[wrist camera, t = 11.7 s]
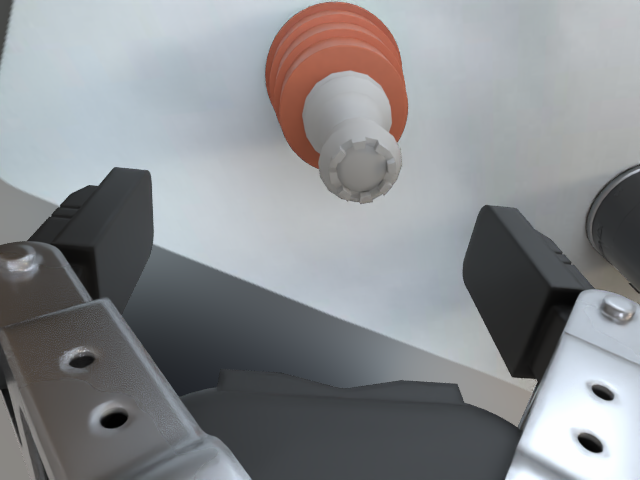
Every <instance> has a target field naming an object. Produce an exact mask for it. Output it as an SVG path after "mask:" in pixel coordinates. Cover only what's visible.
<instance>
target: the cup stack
mask: <svg viewBox="0 0 640 480" xmlns="http://www.w3.org/2000/svg"><path fill="white" fill-rule="evenodd" d="M343 71H354V72H358V73H362V74H366V75H368V76H369V77H371V78H372V79H373V80H374V81H376V82H377V83H378V84H380V85H381V87H382V88H383V90H384V92H385V94H386V96H387V98H388V100H389V104H390V106H391V118H392V124H391V127H390V131H389V133H390V134H391V135H393V136H394V138H395V140H396V142H398V141H399V139H400V137H401V135H402V133H403V131H404V128H405V125H406V120H407V115H408V99H407V94H406V88H405V81H404V76H403V71H402V62H401V57H400V52H399V49H398V46H397V43H396V41H395V39H394V37H393V35H392V34H391V33H390V31H389V30H388V28H387V27H386V26H385V25H384V24H383V23H382V21H381V20H379V19H378V18H377V17H376V16H375V15H373V14H372V13H370V12H369V11H367V10H365V9H364V8H361V7H359V6H357V5H353V4H349V3H344V2H325V3H319V4H316V5H313V6H310V7H308V8H306V9H304V10H302V11H300V12H299V13H297V14H296V15H294V16H293V17H292V18H291V19H289V20H288V21H287V22H286V23H285V24H284V26H283V27H282V28H281V29H280V30H279V32H278V34H277V35H276V37H275V38H274V41H273V43H272V45H271V47H270V50H269V53H268V57H267V62H266V71H265V78H266V87H267V92H268V96H269V98H270V101H271V104H272V106H273V108H274V110H275V112H276V116H277V118H278V121H279V124H280V126H281V128H282V131H283V134H284V136H285V138H286V140H287V142H288V144H289V145H290V147H291V148H292V150H293V151H294V152H295V153H296V154H297V155H298V156H299V157H300V158H301V159H302V160H303V161H305V162H306V163H308V164H309V165H311V166H313V167H315V168H317V169H319V165H318V161H319V157H320V153H318V152H317V151H315V149H314V148H313V146H312V145H311V143H310V141H309V140H308V138H307V137H306V133H305V129H304V123H303V117H302V113H303V109H304V104H305V100H306V97H307V96H308V94H309V93H310V91H311V90H312V89H313V87H314V86H315V84H316V83H317V82H319V81H321V80H322V79H324V78H325V77H327V76H329V75H330V74H332V73H337V72H343Z"/></svg>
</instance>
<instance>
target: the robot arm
mask: <svg viewBox="0 0 640 480" xmlns="http://www.w3.org/2000/svg"><path fill="white" fill-rule="evenodd" d="M587 234H588V238H589V241H590V243H591V245H592V246H593V247H594V248H595V250H596V251H597V252H598V253H599V254H600V255H602V256H603V257H604V258H605V259H606V260H607V261H608V262H609V263H611V264H612V265H613V266H614V267H615V268H616V269H617V270H618V271H619V272H620V273H621V274H622V275H623V276H624V277H625V278H626V279H627V280H628V281H629V282H630V283H629V284H630V285H631V286H632V287H633V288H634V289H635V290H636V291H637V292H638V293H640V165H639V166H637V167H634V168H632V169H630V170H628V171H626V172H624V173H623V174H621V175H620V176H618V177H617V178H615V179H614V180H613V181H612V182H611V183H609V184H608V185H607V186H606V187H605V188H604V189H603V191H602V192H601V193H600V194H599V196H598V197H597V198H596V200H595V202H594V203H593V205H592V207H591V210H590V212H589V216H588V220H587ZM153 236H154V228H153V204H152V181H151V175H150V172H149V171H148V170H139V169H129V168H119V167H114V168H113V169H112V170H111V172H110V173H109V174H108V175H107V176H106V178H105V179H104V180H103V181H102V182H101V183H100V185H99V186H92V185H89V186H86V187H84V188H82V189H80V190H78V191H76V192H74V193H72V194H70V195H69V196H68V197H67V198H66V199H65V201H64V202H63V203H62V204H61V205H60V208H59V207H58V208H57V209H56V210H55V211H54V212H53V214H52V216H51V217H49V218H48V219H47V220H46V221H45V222H44V223H43V224H42V225H41V226H40V228H39V229H38V230H37V231H36V232H35V233H34V234H33V235H32V236H31V237H30V238H29V239H28V240H27V241H22V242H13V243H7V244H3V245H0V394H1V397H2V399H3V402H4V405H5V408H6V410H7V413H8V416H9V419H10V422H11V425H12V427H13V430H14V433H15V436H16V439H17V441H18V444H19V447H20V450H21V452H22V455H23V458H24V461H25V464H26V467H27V470H28V473H29V476H30V479H31V480H640V305H639V304H637V303H636V302H634V301H632V300H630V299H628V298H626V297H624V296H622V295H619V294H616V293H613V292H609V291H605V290H598V289H595V288H594V287H593V286H592V285H591V284H590V283H589V282H588V281H587V279H586V278H585V277H584V276H583V275H582V274H581V273H580V272H579V270H578V269H577V268H576V267H575V266H574V265H571V261H570V260H569V259H568V258H567V257H566V256H565V255H562V251H561V250H560V249H559V248H558V247H557V246H556V244H555V243H554V242H553V241H552V240H551V239H549V238H548V237H546V236H544V235H543V234H541V233H540V232H538V231H537V230H535V229H534V228H533V227H532V225H531V224H530V223H529V222H528V221H527V220H526V218H525V217H524V216H523V215H522V214H521V213H520V212H519V210H518V209H516V208H510V207H500V206H490V205H485V206H484V207H482V209H481V210H480V212H479V214H478V217H477V220H476V223H475V226H474V230H473V233H472V236H471V239H470V242H469V245H468V248H467V252H466V255H465V258H464V262H463V280H464V283H465V286H466V288H467V289H468V291H469V293H470V295H471V297H472V299H473V301H474V303H475V305H476V307H477V309H478V311H479V313H480V315H481V317H482V319H483V321H484V323H485V325H486V327H487V329H488V331H489V333H490V335H491V337H492V339H493V341H494V343H495V345H496V347H497V349H498V350H499V352H500V354H501V356H502V358H503V360H504V362H505V364H506V366H507V368H508V370H509V372H510V374H511V376H512V377H515V378H531V379H537V381H538V383H537V385H536V387H535V389H534V391H533V393H532V396H531V398H530V400H529V402H528V405H527V407H526V409H525V412H524V414H523V416H522V418H521V421H520V423H519V425H518V428H517V427H516V426H514V425H513V424H511V423H510V422H508V421H506V420H504V419H503V418H501V417H499V416H497V415H495V414H493V413H491V412H489V411H486V410H484V409H481V408H478V407H476V406H473V405H470V404H467V403H464V401H463V398H462V395H461V393H460V390H459V387H458V385H457V384H450V383H435V382H419V381H403V380H400V381H393V382H387V383H380V384H373V385H366V386H360V387H353V388H338V387H333V386H330V385H326V384H322V383H318V382H314V381H310V380H306V379H302V378H299V377H295V376H291V375H287V374H284V373H277V372H276V373H275V372H260V371H245V370H228V369H220V374H219V380H218V385H217V387H216V388H210V389H205V390H201V391H197V392H193V393H190V394H187V395H184V396H182V397H178V395H177V394H176V393H175V391H174V390H173V388H172V387H171V386H170V384H169V383H168V381H167V380H166V378H165V377H164V375H163V374H162V373H161V371H160V370H159V368H158V367H157V365H156V364H155V363H154V361H153V360H152V358H151V357H150V356H149V354H148V353H147V351H146V350H145V348H144V347H143V346H142V344H141V343H140V341H139V340H138V339H137V337H136V336H135V334H134V333H133V331H132V330H131V328H130V327H129V326H128V324H127V323H126V321H125V320H124V318H123V317H122V316H121V315H122V313H123V311H124V309H125V307H126V305H127V303H128V300H129V298H130V296H131V294H132V292H133V290H134V288H135V286H136V284H137V282H138V280H139V278H140V275H141V273H142V271H143V269H144V267H145V265H146V263H147V261H148V259H149V257H150V254H151V250H152V245H153Z"/></svg>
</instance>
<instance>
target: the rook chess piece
mask: <svg viewBox="0 0 640 480" xmlns="http://www.w3.org/2000/svg"><path fill="white" fill-rule="evenodd" d="M302 117H303V123H304V129H305V133H306V137H307V138H308V140H309V141H310V143H311V145H312V146H313V148H314V149H315V151H317V152H318V153H320V157H319V161H318V165H319V171H320V177H321V179H322V181H323V182H324V184H325V185H326V187H327V188H328V190H329V191H330V192H332V193H333V194H335V195H336V196H338V197H339V198H341V199H344V200H346V201H348V200H349V201H354V202H360V204H364V203H370V202H373V201H372V200H373V199H375V198H377V197H378V196H380V195H382V194H383V195H385V194H386V193H387V192H388V191H389V190H390V189H391V187H392V185H393V184H394V183H395V182H396V180H397V178H398V175H399V172H400V169H401V167H402V159H401V149H400V147H399V145H398V144H397V142H396V140H395V138H394V136H393V135H391V134H390V133H389V131H390V127H391V124H392V118H391V106H390V104H389V100H388V98H387V96H386V94H385V92H384V90H383V88H382V87H381V85H380V84H378V83H377V82H376V81H374V80H373V79H372V78H371V77H369V76H368V75H366V74H362V73H358V72H354V71H343V72H337V73H332V74H330V75H329V76H327V77H325V78H324V79H322V80H321V81H319V82H317V83H316V84H315V86H314V87H313V89H312V90H311V91H310V93H309V94H308V96H307V97H306V100H305V104H304V109H303V113H302Z"/></svg>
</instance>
